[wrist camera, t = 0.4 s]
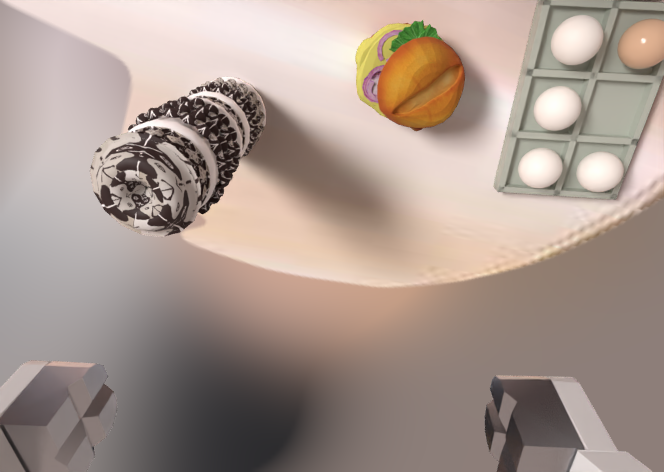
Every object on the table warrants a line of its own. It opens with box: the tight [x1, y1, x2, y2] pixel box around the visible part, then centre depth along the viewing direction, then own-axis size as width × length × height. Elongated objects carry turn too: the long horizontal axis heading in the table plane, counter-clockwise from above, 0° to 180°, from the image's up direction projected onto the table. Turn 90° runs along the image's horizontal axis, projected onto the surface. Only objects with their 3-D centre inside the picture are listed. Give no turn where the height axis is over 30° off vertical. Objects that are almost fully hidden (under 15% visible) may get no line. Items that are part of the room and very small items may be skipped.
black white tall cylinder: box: [90, 76, 266, 237], centre depth 42 cm, size 9×9×25 cm
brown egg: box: [617, 19, 664, 69], centre depth 44 cm, size 5×5×5 cm
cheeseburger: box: [355, 20, 465, 131], centre depth 46 cm, size 10×11×10 cm
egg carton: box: [494, 0, 664, 200], centre depth 47 cm, size 21×14×5 cm
